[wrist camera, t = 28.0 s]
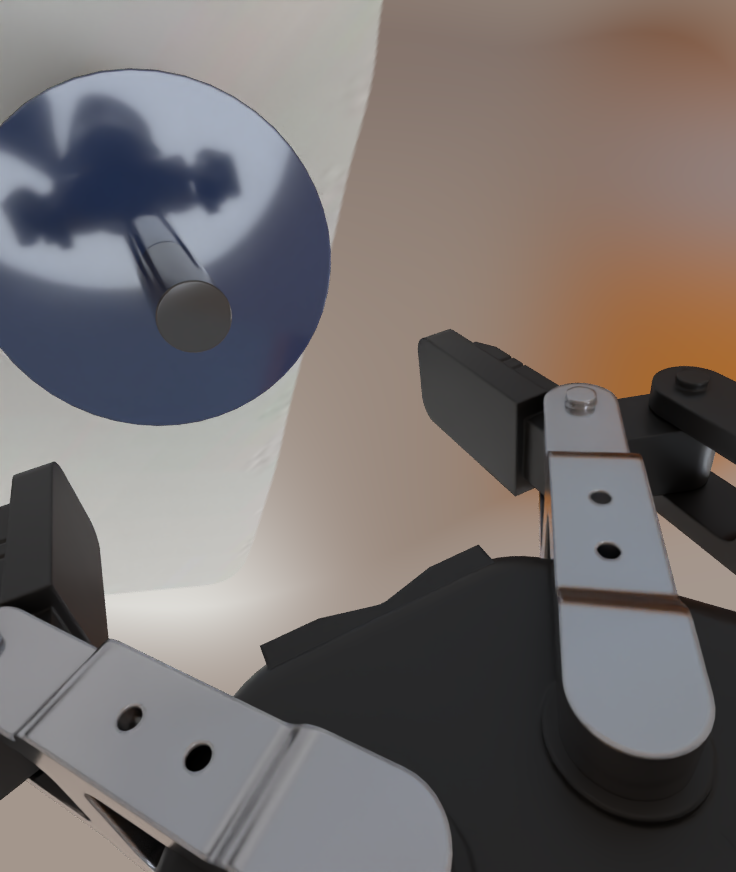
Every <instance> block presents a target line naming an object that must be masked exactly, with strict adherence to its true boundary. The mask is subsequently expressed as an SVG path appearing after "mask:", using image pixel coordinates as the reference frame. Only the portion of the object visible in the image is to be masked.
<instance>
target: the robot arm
mask: <svg viewBox="0 0 736 872" xmlns="http://www.w3.org/2000/svg"><path fill="white" fill-rule="evenodd" d="M418 356H419V367H420V377H421V389H422V398H423V403H424V406H425V409H426V411H427V413H428V415H429V417H430V418H431V419H432V421H433V422H434V423H435V424H437V425H438V426H439V427H440V428H441V429H442V430H443V431H444V432H445V433H446V434H448V435H449V436H450V437H451V438H452V439H453V440H454V441H455V442H456V443H457V444H458V445H460V446H461V447H462V448H463V449H464V450H465V451H466V452H467V453H469V455H471V456H472V457H473V458H474V459H475V460H476V461H477V462H478V463H480V465H481V466H483V467H484V468H485V469H486V470H487V471H488V472H489V473H490V474H491V475H492V476H494V477H495V478H496V479H497V480H498V481H499V482H500V483H501V484H502V485H503V486H504V487H506V488H507V489H508V490H509V491H510V492H511V493H512V494H513V495H514V496H517V495H520V494H522V493H524V492H526V491H529V490H531V489H533V488H536V489H537V490H538V491H539V541H540V558H539V557H527V556H510V557H501V558H495V559H491V558H490V557H489V556H488V555H487V554H486V552H485V551H484V550H483V549H482V548H481V547H480V546H479V545H477V546H475V547H472V548H470V549H468V550H466V551H464V552H462V553H459V554H457V555H455V556H453V557H451V558H449V559H446V560H444V561H442V562H440V563H438V564H436V565H434V566H431V567H429V568H428V569H427V570H425V571H424V572H423V573H422V574H420V575H419V576H418V577H417V578H415V579H414V580H413V581H412V582H410V583H409V584H408V585H407V586H405V587H404V588H403V589H401V590H400V591H399V592H397V593H396V594H395V595H394V596H392V597H391V598H390V599H388V601H386V602H384V603H382V604H380V605H376V606H372V607H368V608H363V609H359V610H355V611H350V612H346V613H341V614H337V615H333V616H329V617H324V618H320V619H317V620H315V621H313V622H310V623H308V624H306V625H304V626H302V627H300V628H297V629H295V630H293V631H291V632H289V633H287V634H284V635H282V636H280V637H278V638H276V639H274V640H272V641H269V642H267V643H265V644H263V645H261V646H260V647H261V650H262V653H263V656H264V658H265V661H266V665H265V666H264V667H262V668H261V669H260V670H259V671H257V672H256V673H255V674H254V675H253V676H252V677H251V678H250V679H249V680H248V681H247V682H245V683H244V684H243V686H242V687H241V688H240V689H239V690H238V692H237V693H236V694H235V695H234V696H231V695H229V694H227V693H225V692H222V691H221V690H218V689H216V688H214V687H212V686H210V685H208V684H206V683H204V682H202V681H200V680H198V679H196V678H194V677H192V676H190V675H188V674H185V673H183V672H182V671H179V670H177V669H175V668H173V667H171V666H169V665H167V664H165V663H163V662H161V661H159V660H157V659H155V658H153V657H151V656H149V655H147V654H145V653H143V652H140V651H138V650H136V649H134V648H132V647H130V646H128V645H126V644H124V643H122V642H120V641H117V640H114V639H108V629H107V619H106V609H105V599H104V588H103V577H102V567H101V557H100V547H99V543H98V539H97V536H96V533H95V530H94V528H93V525H92V523H91V521H90V519H89V517H88V515H87V514H86V512H85V510H84V508H83V506H82V505H81V503H80V501H79V499H78V497H77V496H76V494H75V492H74V490H73V489H72V487H71V485H70V483H69V481H68V480H67V478H66V476H65V474H64V472H63V471H62V469H61V468H60V466H59V465H58V464H57V463H56V462H51V463H48V464H45V465H42V466H40V467H37V468H34V469H31V470H28V471H25V472H22V473H19V474H16V475H14V476H13V479H12V488H11V498H10V504H7V505H4V506H1V507H0V800H1V799H3V798H4V797H5V796H6V795H8V794H9V793H10V792H11V791H13V790H14V789H15V788H17V787H18V786H19V785H20V784H22V783H23V782H24V781H25V780H26V781H27V782H28V783H30V784H31V785H33V786H34V787H35V788H37V789H38V790H40V791H41V792H42V793H44V794H45V795H47V796H48V797H49V798H51V799H52V800H53V801H55V802H56V803H58V804H59V805H60V806H62V807H63V808H65V809H66V810H67V811H69V812H70V813H72V814H73V815H74V816H76V817H77V818H79V819H80V820H81V821H83V822H84V823H85V824H87V825H88V826H90V827H91V828H92V829H94V830H95V831H96V832H98V833H99V834H101V835H102V836H103V837H104V838H106V839H107V840H108V841H109V842H110V843H112V844H113V845H114V846H115V847H116V848H117V849H119V850H120V851H121V852H122V853H123V854H124V855H125V856H126V857H128V858H129V859H130V860H131V861H132V862H134V863H135V864H136V865H138V866H139V867H140V868H141V869H143V870H144V871H145V872H736V612H735V611H731V610H728V609H724V608H721V607H717V606H714V605H710V604H707V603H703V602H700V601H696V600H693V599H689V598H686V597H682V596H678V594H677V590H676V587H675V583H674V579H673V575H672V571H671V567H670V563H669V559H668V555H667V551H666V548H665V543H664V540H663V535H662V532H661V528H660V524H659V520H658V516H657V512H658V513H659V514H660V515H661V516H663V517H664V518H665V519H666V520H668V521H669V522H670V523H671V524H673V525H674V526H675V527H677V528H678V529H679V530H680V531H682V532H683V533H684V534H685V535H686V536H688V537H689V538H690V539H691V540H693V541H694V542H695V543H696V544H698V545H699V546H701V548H703V549H704V550H705V551H707V552H708V553H709V554H710V555H712V556H713V557H714V558H715V559H716V560H718V561H719V562H720V563H721V564H723V565H724V566H725V567H727V568H728V569H729V570H730V571H731V572H733V573H734V574H735V575H736V487H734V486H733V485H731V484H730V483H728V482H727V481H725V480H723V479H722V478H720V477H719V476H717V475H716V474H714V473H713V472H711V471H710V470H711V467H712V463H713V459H714V455H715V452H717V453H718V454H720V455H721V456H723V457H725V458H726V459H728V460H729V461H731V462H733V463H734V464H736V382H735V381H733V380H731V379H729V378H727V377H725V376H723V375H721V374H719V373H717V372H714V371H711V370H708V369H704V368H699V367H690V366H679V367H671V368H667V369H664V370H661V371H659V372H658V373H656V374H655V375H654V377H653V380H652V386H651V391H650V394H646V395H640V396H634V397H628V398H621V399H617V397H615V395H614V394H613V393H612V392H610V391H609V390H607V389H605V388H603V387H600V386H597V385H592V384H586V383H571V384H564V385H560V386H559V385H557V384H556V383H554V382H552V381H551V380H549V379H547V378H546V377H544V376H542V375H541V374H539V373H538V372H536V371H534V370H533V369H531V368H529V367H528V366H526V365H524V366H523V364H522V363H521V362H520V361H518V360H516V359H515V358H511V356H510V355H508V354H507V353H505V352H503V351H501V350H500V349H498V348H497V347H494V346H490V345H486V344H483V343H478V342H474V343H472V342H471V341H469V340H468V339H466V338H464V337H463V336H462V335H460V334H458V333H457V332H455V331H454V330H451V329H449V330H445V331H443V332H440V333H437V334H434V335H431V336H428V337H425V338H422V339H421V340H420V341H419V343H418Z"/></svg>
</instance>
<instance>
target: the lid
mask: <svg viewBox="0 0 736 872" xmlns="http://www.w3.org/2000/svg"><path fill="white" fill-rule="evenodd" d="M330 266H331V249H330V240H329V231H328V226H327V222H326V218H325V214H324V209H323V207H322V204H321V201H320V198H319V196H318V193H317V190H316V188H315V186H314V184H313V182H312V180H311V178H310V176H309V174H308V172H307V170H306V168H305V166H304V165H303V164H302V162H301V161H300V159H299V158H298V156H297V155H296V153H295V152H294V150H293V149H292V147H291V146H290V145H289V144H288V143H287V142H286V140H285V139H284V138H283V137H282V136H281V135H280V134H279V132H278V131H277V130H276V129H275V128H274V127H273V126H272V125H270V124H269V123H268V122H267V121H266V120H265V119H264V118H263V117H262V116H260V115H259V114H258V113H257V112H256V111H254V110H253V109H251V108H250V107H249V106H247V105H246V104H244V103H243V102H241V101H240V100H238V99H237V98H235V97H234V96H232V95H230V94H228V93H226V92H224V91H222V90H220V89H218V88H216V87H214V86H212V85H210V84H207V83H204V82H202V81H199V80H196V79H193V78H190V77H187V76H184V75H180V74H175V73H170V72H165V71H160V70H149V69H132V68H127V69H116V70H105V71H98V72H94V73H90V74H86V75H82V76H78V77H74V78H71V79H69V80H67V81H64V82H62V83H60V84H57V85H55V86H52V87H50V88H48V89H46V90H45V91H43V92H41V93H40V94H38V95H37V96H35V97H34V98H32V99H30V100H29V101H27V102H26V103H24V104H23V105H22V106H21V107H20V108H19V109H18V110H16V111H15V112H14V113H13V114H12V115H11V116H10V117H9V118H8V119H6V120H5V121H4V122H3V123H2V125H1V126H0V348H1V349H2V350H3V351H4V353H5V354H6V355H7V356H8V357H9V359H10V360H11V361H12V362H13V363H14V364H15V365H16V366H17V367H18V368H19V369H20V370H21V371H22V372H24V373H25V374H26V375H27V376H28V377H29V378H30V379H31V380H32V381H34V382H35V383H37V384H38V385H39V386H41V387H42V388H44V389H45V390H46V391H48V392H49V393H50V394H52V395H54V396H56V397H57V398H59V399H61V400H63V401H65V402H66V403H68V404H70V405H72V406H74V407H77V408H79V409H81V410H84V411H86V412H89V413H91V414H93V415H97V416H100V417H104V418H107V419H111V420H114V421H119V422H125V423H131V424H137V425H153V426H164V425H180V424H187V423H193V422H199V421H203V420H206V419H210V418H213V417H217V416H220V415H222V414H225V413H227V412H230V411H232V410H235V409H237V408H239V407H241V406H243V405H244V404H246V403H248V402H250V401H252V400H254V399H255V398H256V397H258V396H259V395H261V394H262V393H264V392H265V391H266V390H268V389H269V388H270V387H272V386H273V385H274V384H275V383H276V382H277V381H278V380H279V379H281V378H282V377H283V376H284V375H285V374H286V372H287V371H288V370H289V369H290V368H291V367H292V366H293V365H294V363H295V362H296V361H297V360H298V358H299V357H300V355H301V354H302V353H303V351H304V350H305V348H306V347H307V345H308V343H309V341H310V339H311V337H312V336H313V334H314V332H315V330H316V328H317V325H318V323H319V320H320V318H321V315H322V312H323V309H324V305H325V301H326V298H327V294H328V287H329V279H330V272H331V267H330Z"/></svg>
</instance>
